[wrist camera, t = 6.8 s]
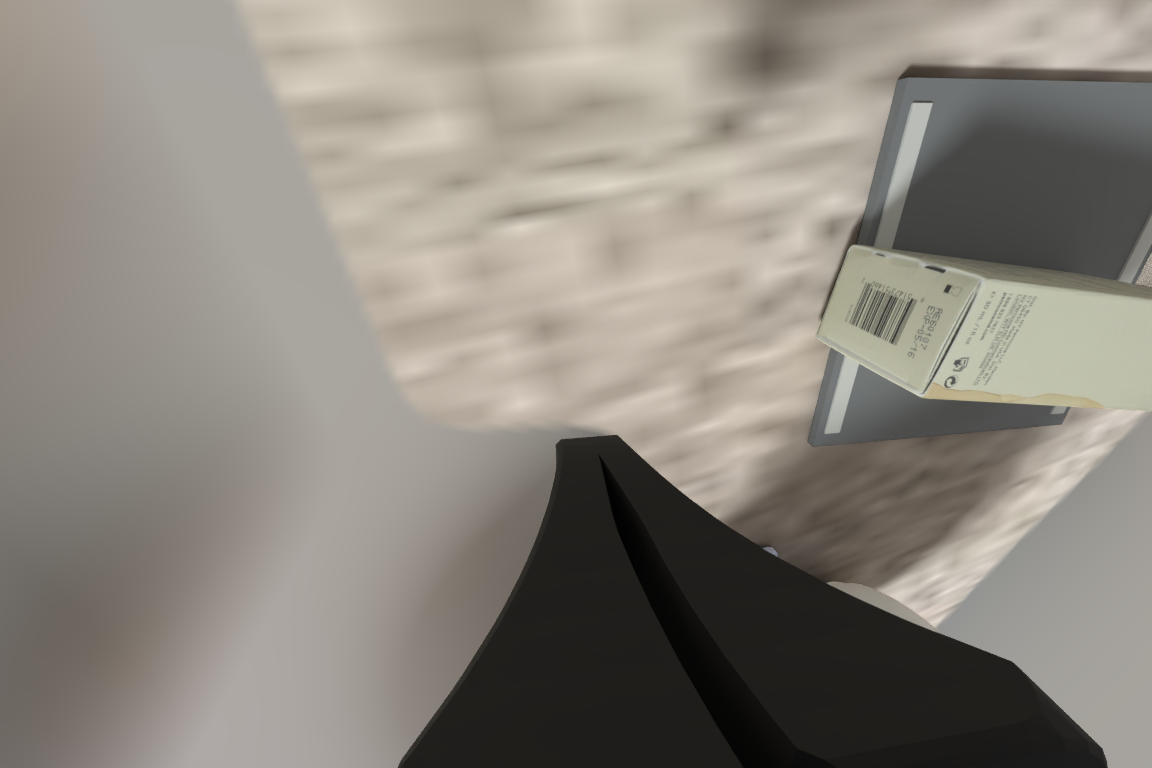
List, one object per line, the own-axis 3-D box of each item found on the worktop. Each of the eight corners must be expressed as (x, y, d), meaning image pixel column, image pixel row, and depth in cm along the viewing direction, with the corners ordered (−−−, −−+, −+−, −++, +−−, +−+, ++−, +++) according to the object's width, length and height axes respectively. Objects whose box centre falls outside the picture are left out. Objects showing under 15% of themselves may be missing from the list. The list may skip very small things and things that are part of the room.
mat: (1052, 419, 26) (1063, 425, 25) (807, 441, 24) (814, 447, 23) (1221, 86, 19) (1242, 84, 18) (898, 79, 17) (910, 76, 17)
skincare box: (918, 400, 15) (1185, 423, 18) (989, 268, 13) (1277, 312, 16) (808, 336, 21) (1021, 359, 23) (847, 236, 19) (1074, 271, 21)
